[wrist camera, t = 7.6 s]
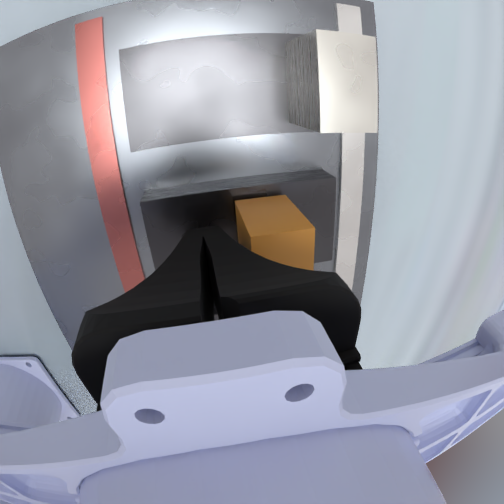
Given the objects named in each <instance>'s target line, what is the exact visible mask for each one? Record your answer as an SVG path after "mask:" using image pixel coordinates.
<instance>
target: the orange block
mask: <svg viewBox="0 0 504 504" xmlns="http://www.w3.org/2000/svg"><path fill="white" fill-rule="evenodd" d="M235 210H236V221H237V232H238V242H239V244H241V245H242V246H244V247H245V248H247V249H248V250H250V251H252V252H254V253H256V254H258V255H260V256H262V257H264V258H267V259H269V260H272V261H275V262H278V263H281V264H284V265H288V266H292V267H296V268H301V269H307V270H314V247H315V227H314V226H313V225H312V224H311V223H310V222H309V220H308V219H307V218H306V217H305V216H304V215H303V214H302V213H301V211H300V210H299V209H298V208H297V207H296V206H295V205H294V204H293V203H292V201H291V200H290V199H289V198H288V197H287V196H286V195H277V196H269V197H260V198H252V199H244V200H237V201H235Z"/></svg>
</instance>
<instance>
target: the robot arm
mask: <svg viewBox="0 0 504 504" xmlns="http://www.w3.org/2000/svg"><path fill="white" fill-rule="evenodd" d="M214 304H215V307H216V311H217V314H218V318H219V320H216V321H214ZM360 320H361V307H360V304H359V301H358V299H357V297H356V296H355V295H354V293H353V292H352V290H351V289H350V288H349V286H348V285H347V284H346V283H345V282H344V280H343V279H342V278H341V277H340V276H339V275H338V274H337V273H336V272H326V271H314V270H307V269H301V268H296V267H292V266H288V265H284V264H281V263H278V262H275V261H272V260H269V259H267V258H264V257H262V256H260V255H258V254H256V253H254V252H252V251H250V250H248V249H247V248H245V247H244V246H242V245H241V244H239V243H238V242H237V241H235V240H234V239H233V238H232V237H230V236H229V235H228V234H227V233H226V232H225V231H224V230H223V229H222V228H221V227H219V226H218V225H214V226H207V227H201V228H194V229H187V231H186V232H185V233H184V235H183V236H182V238H181V240H180V241H179V243H178V244H177V246H176V247H175V248H174V250H173V251H172V253H171V254H170V255H169V256H168V258H167V259H166V260H165V261H164V262H163V263H162V264H161V265H160V266H159V267H158V268H157V269H156V270H155V271H154V272H153V273H152V274H151V275H150V276H148V277H147V278H146V279H144V280H143V281H142V282H140V283H139V284H138V285H136V286H135V287H134V288H132V289H131V290H129V291H127V292H126V293H124V294H122V295H120V296H119V297H117V298H115V299H113V300H111V301H109V302H107V303H105V304H102V305H100V306H98V307H95V308H93V309H91V310H88V311H86V312H85V315H84V317H83V320H82V322H81V324H80V328H79V331H78V334H77V338H76V341H75V344H74V348H73V351H72V364H73V367H74V369H75V371H76V373H77V375H78V376H79V378H80V379H81V381H82V382H83V384H84V385H85V387H86V388H87V390H88V391H89V393H90V394H91V396H92V397H93V398H94V400H95V401H96V403H97V404H98V405H97V412H93V413H90V414H86V415H83V416H80V415H79V414H78V412H77V411H76V410H75V409H74V407H73V406H72V405H71V404H70V402H69V401H68V400H67V398H66V397H65V396H64V394H63V393H62V392H61V390H60V389H59V388H58V386H57V385H56V384H55V382H54V381H53V379H52V378H51V377H50V375H49V374H48V372H47V371H46V369H45V368H44V366H43V365H42V363H41V362H40V360H39V359H38V358H36V357H0V504H447V503H446V501H445V499H444V497H443V495H442V493H441V492H440V490H439V488H438V486H437V484H436V482H435V480H434V478H433V476H432V474H431V473H430V471H429V469H428V467H427V465H426V463H427V462H428V461H430V460H432V459H433V458H435V457H437V456H438V455H440V454H441V453H443V452H444V451H446V450H447V449H448V448H450V447H452V446H453V445H455V444H456V443H458V442H459V441H460V440H462V439H463V438H465V437H466V436H468V435H469V434H470V433H471V432H473V431H474V430H476V429H477V428H478V427H480V426H481V425H482V424H483V423H485V422H486V421H488V420H489V419H490V418H492V417H493V416H494V415H495V414H497V413H498V412H499V411H501V410H502V409H503V408H504V310H502V311H500V312H498V313H496V314H494V315H492V316H490V317H488V318H487V319H486V320H485V321H484V322H483V323H482V324H481V326H480V327H479V330H478V332H477V334H476V338H475V339H473V340H471V341H469V342H467V343H465V344H463V345H461V346H459V347H457V348H454V349H452V350H450V351H448V352H446V353H443V354H441V355H439V356H437V357H434V358H432V359H430V360H427V361H425V362H423V363H420V364H418V365H410V366H401V367H390V368H377V369H362V367H361V365H360V364H359V362H360V359H361V357H360V354H359V352H358V350H357V349H356V347H355V344H356V340H357V335H358V330H359V325H360ZM59 421H60V422H59Z"/></svg>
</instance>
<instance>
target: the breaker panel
mask: <svg viewBox="0 0 504 504" xmlns="http://www.w3.org/2000/svg"><path fill="white" fill-rule="evenodd" d="M378 124H379V83H378V55H377V38H376V25H375V14H374V4H373V2H370V1H365V0H132V1H127V2H123V3H119V4H114V5H110V6H106V7H103V8H99V9H95V10H92V11H89V12H85V13H82V14H79V15H76V16H73V17H70V18H67V19H64V20H61V21H58V22H56V23H53V24H50V25H48V26H45V27H43V28H40V29H38V30H35V31H33V32H31V33H28V34H26V35H24V36H22V37H19V38H17V39H15V40H13V41H11V42H9V43H7V44H5V45H3V46H1V47H0V167H1V171H2V175H3V179H4V183H5V187H6V191H7V195H8V198H9V202H10V205H11V209H12V212H13V215H14V218H15V222H16V225H17V228H18V231H19V234H20V237H21V239H22V242H23V245H24V248H25V250H26V253H27V256H28V258H29V261H30V263H31V266H32V268H33V271H34V273H35V276H36V278H37V280H38V283H39V285H40V287H41V289H42V292H43V294H44V296H45V298H46V300H47V303H48V305H49V307H50V309H51V311H52V313H53V315H54V317H55V319H56V321H57V323H58V325H59V327H60V329H61V331H62V332H63V334H64V336H65V338H66V340H67V342H68V344H69V345H70V347H71V349H72V351H73V348H74V344H75V341H76V338H77V334H78V331H79V328H80V324H81V322H82V320H83V317H84V315H85V312H86V311H88V310H91V309H93V308H95V307H98V306H100V305H102V304H105V303H107V302H109V301H111V300H113V299H115V298H117V297H119V296H120V295H122V294H124V293H126V292H127V291H129V290H131V289H132V288H134V287H135V286H136V285H138V284H139V283H140V282H142V281H143V280H144V279H146V278H147V277H148V276H150V275H151V274H152V273H153V272H154V271H155V270H156V269H157V268H158V267H159V266H160V265H161V264H162V263H163V262H164V261H165V260H166V259H167V258H168V256H169V255H170V254H171V253H172V251H173V250H174V248H175V247H176V246H177V244H178V243H179V241H180V240H181V238H182V236H183V235H184V233H185V232H186V231H187V229H194V228H201V227H207V226H214V225H218V226H219V227H221V228H222V229H223V230H224V231H225V232H226V233H227V234H228V235H229V236H230V237H232V238H233V239H234V240H235V241H237V242H238V232H237V221H236V210H235V201H237V200H244V199H252V198H260V197H269V196H277V195H286V196H287V197H288V198H289V199H290V200H291V201H292V203H293V204H294V205H295V206H296V207H297V208H298V209H299V210H300V211H301V213H302V214H303V215H304V216H305V217H306V218H307V219H308V220H309V222H310V223H311V224H312V225H313V226H314V227H315V247H314V271H326V272H336V273H337V274H338V275H339V276H340V277H341V278H342V279H343V280H344V282H345V283H346V284H347V285H348V286H349V288H350V289H351V290H352V292H353V293H354V295H355V296H356V297H357V299H358V301H359V304H361V298H362V292H363V286H364V280H365V274H366V267H367V260H368V253H369V245H370V237H371V228H372V219H373V209H374V198H375V186H376V172H377V154H378ZM238 243H239V242H238ZM216 320H219V318H218V314H217V311H216V307H215V304H214V321H216Z"/></svg>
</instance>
